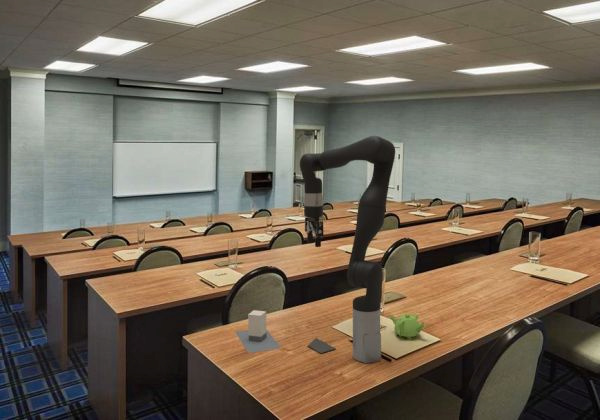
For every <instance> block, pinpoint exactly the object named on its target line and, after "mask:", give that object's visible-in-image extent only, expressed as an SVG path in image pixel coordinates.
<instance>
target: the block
mask: <svg viewBox="0 0 600 420" xmlns="http://www.w3.org/2000/svg"><path fill="white" fill-rule="evenodd" d="M247 318H248V319H247V321H248V330H249V341H257V342H262V341H263V340H264V339H265V338H266V337H267V331H268V329H267V328H268V327H267V311H266V310H265V311H264V310H255V309H253V310H252V311H251V312H250V313H248V314H247Z"/></svg>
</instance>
